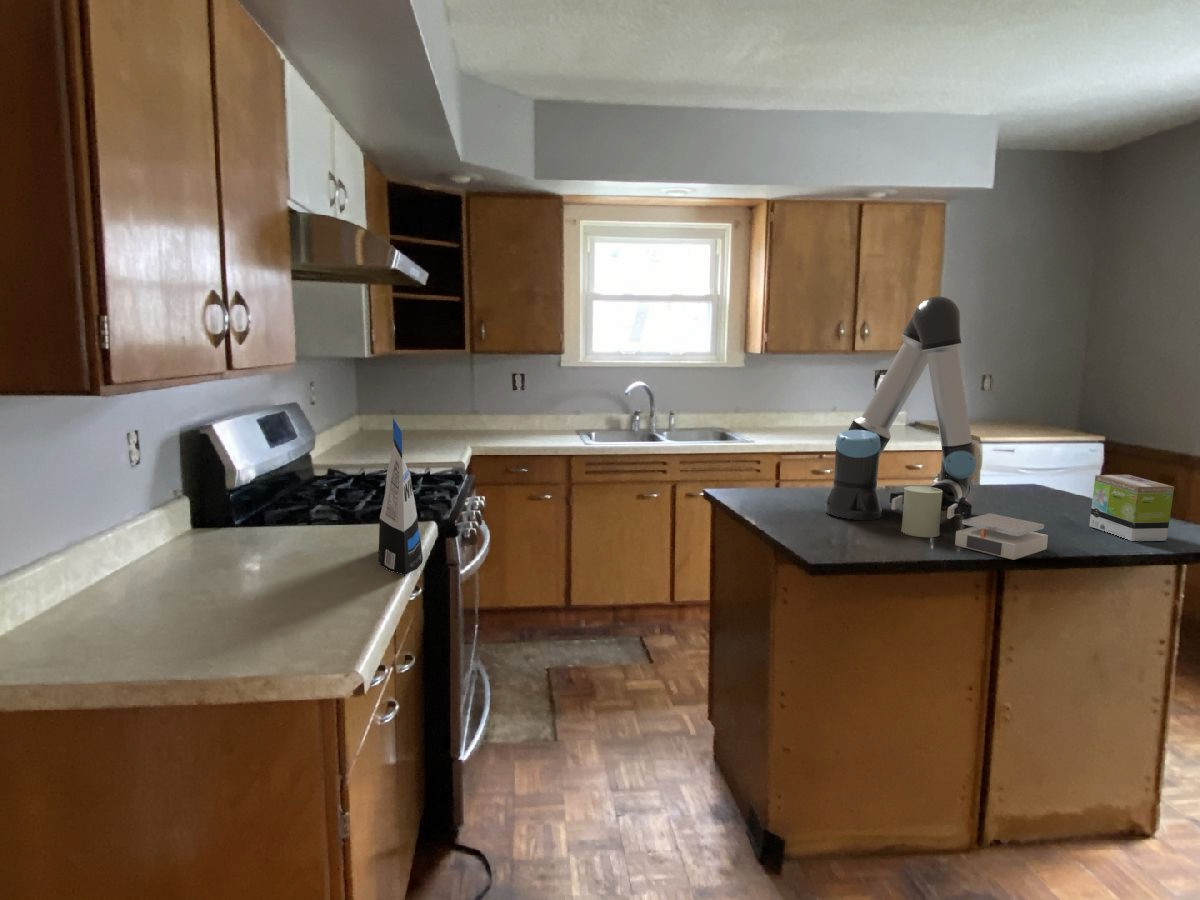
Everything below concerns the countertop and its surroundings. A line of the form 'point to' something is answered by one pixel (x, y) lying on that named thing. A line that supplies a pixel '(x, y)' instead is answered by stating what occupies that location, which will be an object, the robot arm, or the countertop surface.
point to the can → (921, 511)
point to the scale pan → (1002, 525)
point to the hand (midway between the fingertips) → (920, 508)
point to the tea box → (1131, 507)
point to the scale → (1001, 542)
